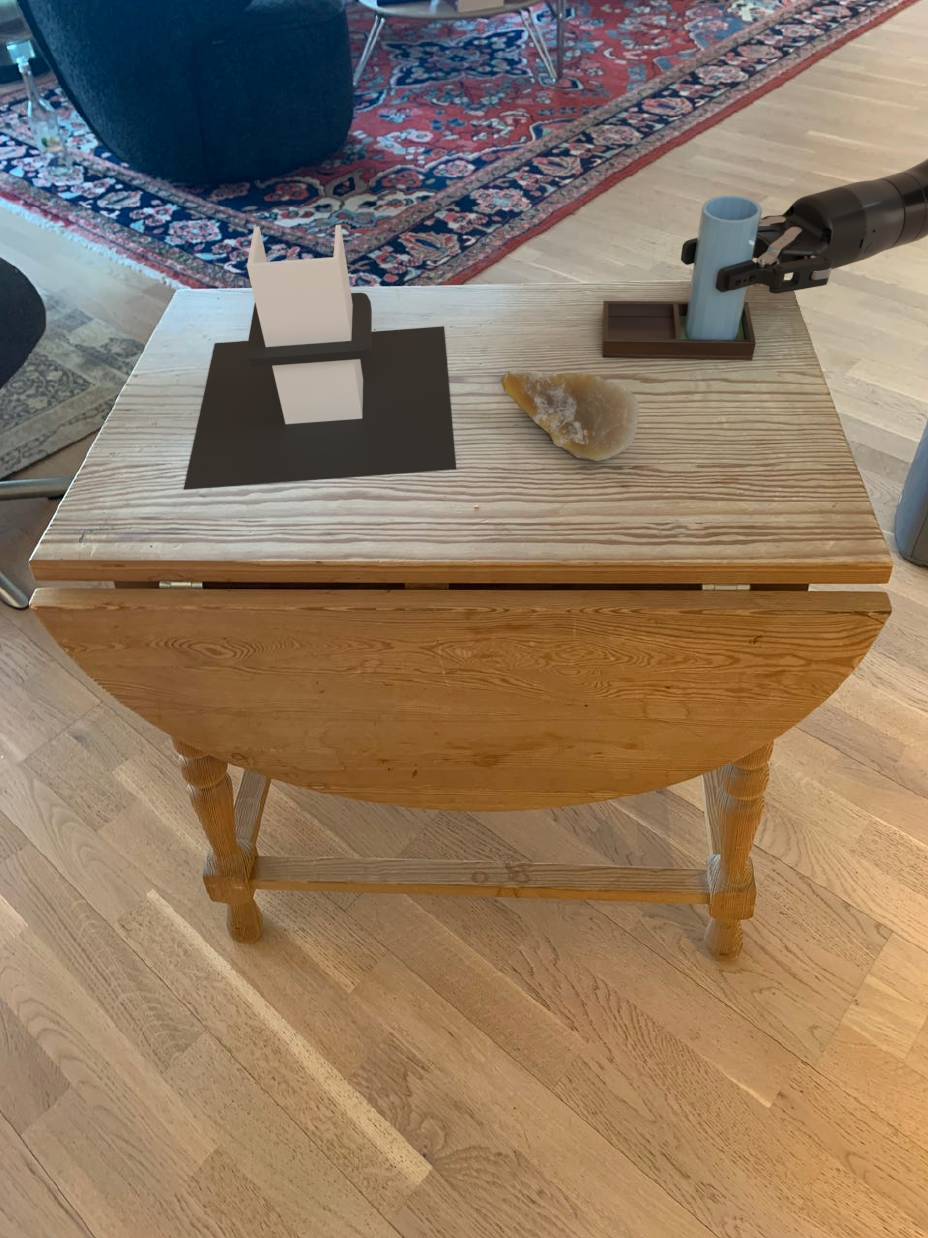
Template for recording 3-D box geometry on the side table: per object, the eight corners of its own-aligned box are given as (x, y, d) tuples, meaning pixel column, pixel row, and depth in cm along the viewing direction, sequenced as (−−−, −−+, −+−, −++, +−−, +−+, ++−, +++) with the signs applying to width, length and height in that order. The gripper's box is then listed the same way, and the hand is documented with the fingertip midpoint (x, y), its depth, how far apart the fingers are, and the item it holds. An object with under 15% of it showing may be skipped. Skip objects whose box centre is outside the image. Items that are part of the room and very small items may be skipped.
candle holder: (444, 326, 101) (433, 172, 88) (456, 469, 85) (445, 305, 72) (214, 343, 100) (172, 191, 88) (183, 489, 84) (126, 328, 72)
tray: (602, 317, 100) (603, 300, 99) (744, 318, 99) (748, 301, 97) (602, 357, 95) (603, 340, 94) (752, 360, 94) (756, 342, 92)
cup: (732, 316, 98) (755, 193, 88) (742, 345, 94) (766, 220, 85) (681, 318, 98) (698, 196, 89) (688, 347, 95) (707, 222, 85)
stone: (634, 411, 78) (487, 352, 84) (615, 478, 82) (475, 417, 87) (667, 390, 83) (526, 335, 89) (647, 453, 87) (513, 397, 93)
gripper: (806, 162, 95) (665, 199, 91) (903, 218, 87) (752, 263, 83) (790, 232, 101) (657, 271, 97) (880, 292, 92) (737, 337, 88)
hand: (701, 267), depth 90 cm, fingers closed on cup, 5 cm apart
